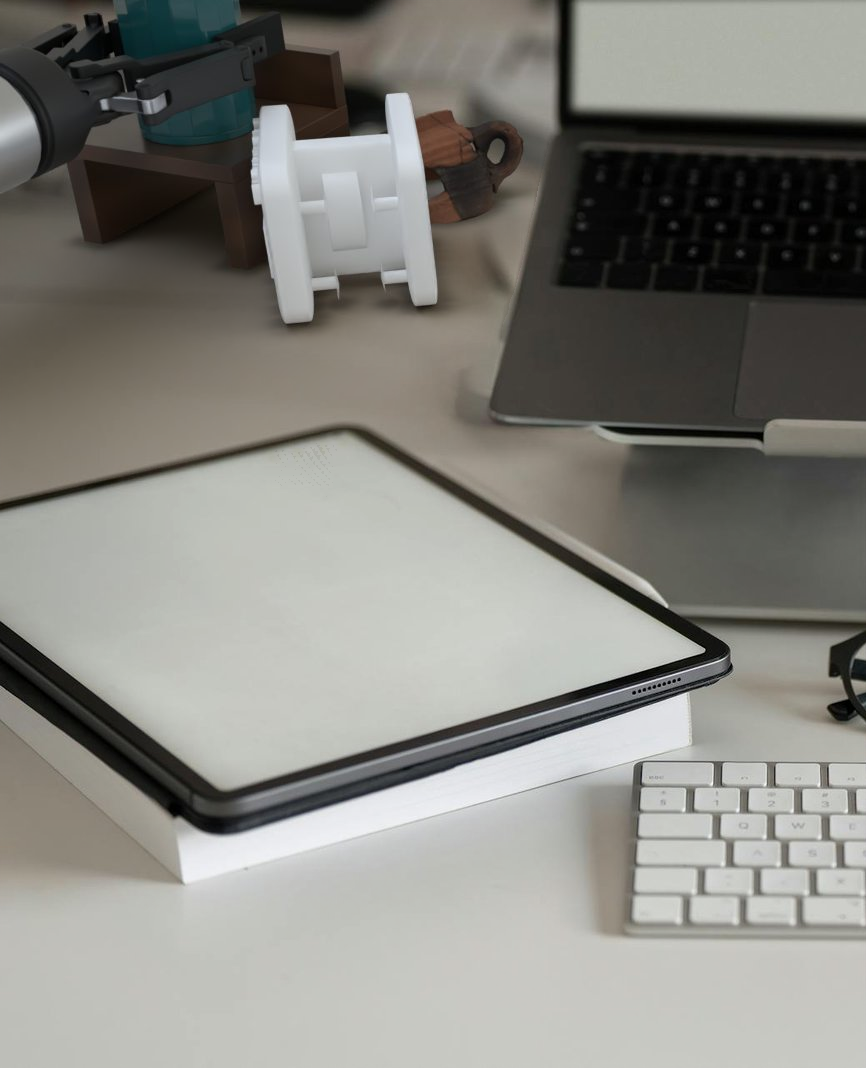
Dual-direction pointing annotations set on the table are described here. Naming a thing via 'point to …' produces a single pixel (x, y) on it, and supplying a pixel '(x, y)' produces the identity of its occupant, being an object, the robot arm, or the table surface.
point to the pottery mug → (464, 163)
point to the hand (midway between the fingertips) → (226, 24)
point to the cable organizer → (342, 207)
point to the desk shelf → (205, 158)
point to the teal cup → (176, 24)
